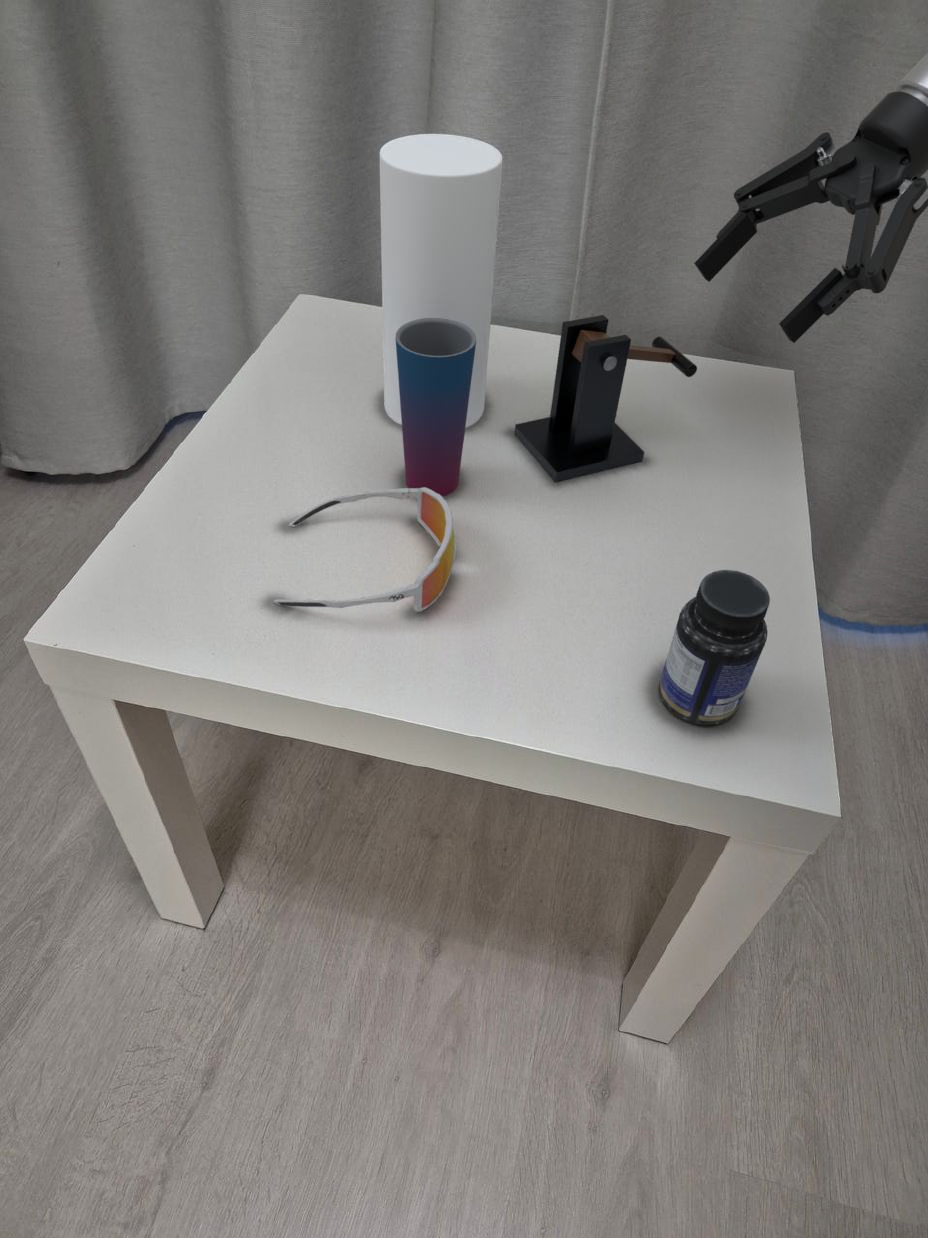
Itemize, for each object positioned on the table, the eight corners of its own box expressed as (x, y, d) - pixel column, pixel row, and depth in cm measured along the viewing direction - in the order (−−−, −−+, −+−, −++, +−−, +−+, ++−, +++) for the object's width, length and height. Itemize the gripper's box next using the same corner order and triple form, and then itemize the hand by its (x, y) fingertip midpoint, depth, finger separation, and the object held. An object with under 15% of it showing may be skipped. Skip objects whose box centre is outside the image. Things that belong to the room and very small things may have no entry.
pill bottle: (739, 677, 68) (783, 573, 60) (735, 738, 64) (781, 634, 56) (661, 659, 69) (693, 554, 61) (651, 717, 65) (685, 612, 57)
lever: (657, 353, 90) (667, 331, 88) (691, 382, 86) (702, 360, 84) (561, 344, 84) (570, 320, 82) (593, 374, 80) (603, 350, 78)
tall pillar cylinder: (363, 404, 93) (353, 149, 76) (432, 369, 99) (438, 125, 81) (436, 445, 88) (444, 184, 71) (504, 406, 94) (527, 155, 77)
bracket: (597, 415, 94) (617, 300, 85) (642, 461, 88) (669, 344, 79) (513, 434, 91) (525, 316, 82) (555, 483, 85) (573, 363, 76)
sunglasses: (460, 625, 71) (454, 580, 67) (277, 639, 72) (261, 595, 68) (458, 514, 81) (452, 470, 77) (297, 528, 81) (284, 485, 78)
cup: (389, 466, 86) (386, 321, 75) (455, 456, 87) (462, 313, 77) (406, 508, 81) (407, 360, 70) (476, 497, 83) (487, 351, 72)
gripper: (1037, 195, 75) (839, 384, 81) (839, 108, 90) (685, 271, 96) (1025, 133, 69) (813, 339, 75) (816, 51, 85) (654, 228, 91)
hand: (741, 301), depth 86 cm, fingers open, 13 cm apart
